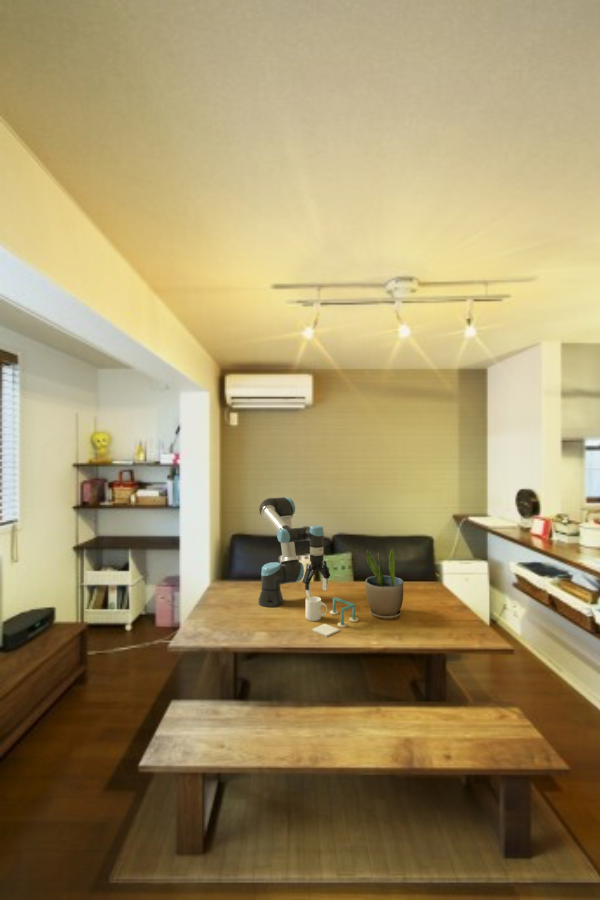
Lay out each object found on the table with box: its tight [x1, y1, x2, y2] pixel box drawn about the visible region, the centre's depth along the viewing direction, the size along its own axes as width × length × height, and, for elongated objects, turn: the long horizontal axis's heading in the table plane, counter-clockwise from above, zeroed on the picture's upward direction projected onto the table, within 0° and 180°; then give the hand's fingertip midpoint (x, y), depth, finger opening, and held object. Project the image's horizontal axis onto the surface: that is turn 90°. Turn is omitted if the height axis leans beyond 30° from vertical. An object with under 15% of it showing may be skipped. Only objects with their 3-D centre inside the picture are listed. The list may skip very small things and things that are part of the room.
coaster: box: [311, 623, 340, 638], centre depth 209 cm, size 10×10×1 cm
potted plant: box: [365, 548, 404, 620], centre depth 231 cm, size 21×22×40 cm
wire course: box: [329, 596, 359, 629], centre depth 224 cm, size 19×15×9 cm
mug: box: [304, 595, 328, 622], centre depth 225 cm, size 9×12×11 cm
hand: (316, 592), depth 224 cm, fingers open, 13 cm apart
